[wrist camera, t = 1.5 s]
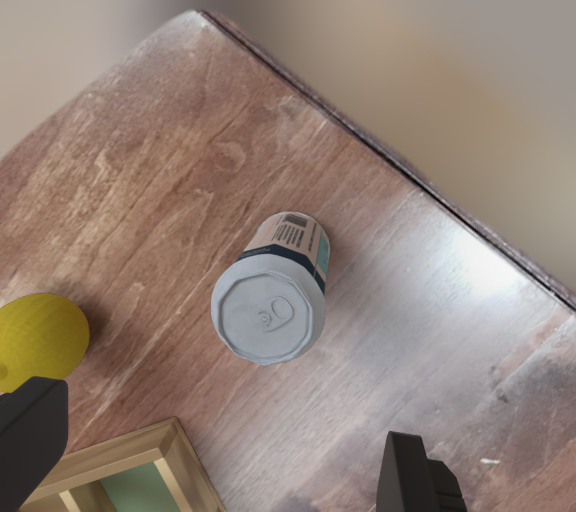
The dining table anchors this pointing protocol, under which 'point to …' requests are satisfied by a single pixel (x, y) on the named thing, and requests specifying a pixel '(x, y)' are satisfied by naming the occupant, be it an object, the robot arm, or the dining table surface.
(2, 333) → the lemon
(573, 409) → the dining table surface
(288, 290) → the beer can
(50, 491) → the wooden divided tray
